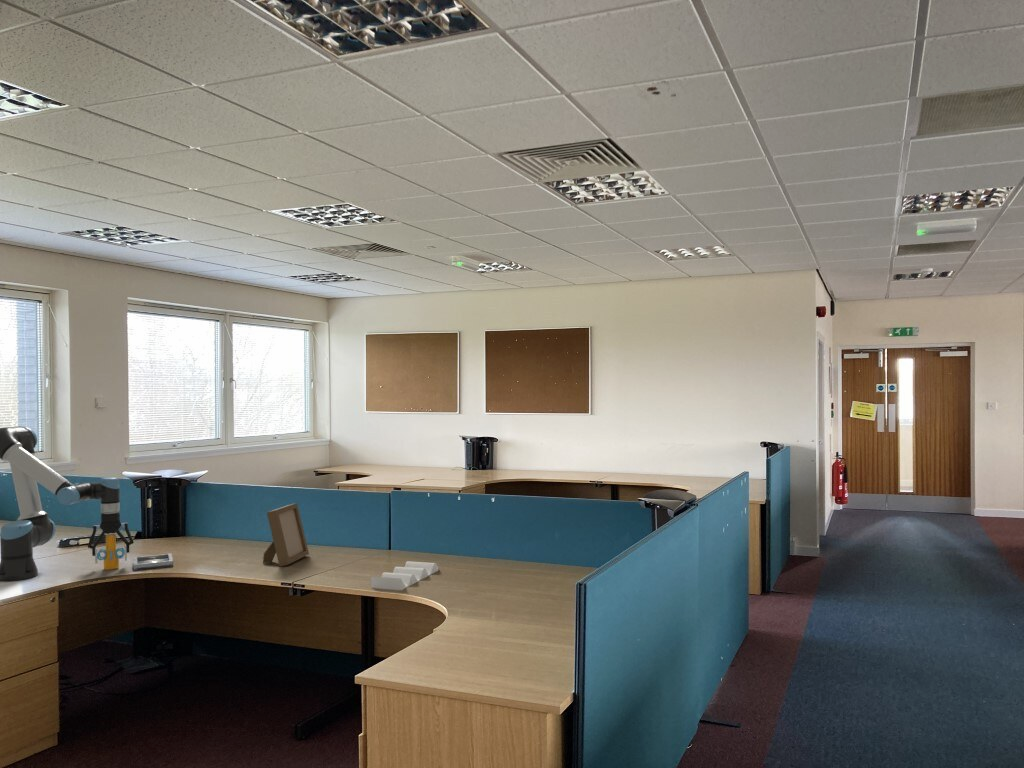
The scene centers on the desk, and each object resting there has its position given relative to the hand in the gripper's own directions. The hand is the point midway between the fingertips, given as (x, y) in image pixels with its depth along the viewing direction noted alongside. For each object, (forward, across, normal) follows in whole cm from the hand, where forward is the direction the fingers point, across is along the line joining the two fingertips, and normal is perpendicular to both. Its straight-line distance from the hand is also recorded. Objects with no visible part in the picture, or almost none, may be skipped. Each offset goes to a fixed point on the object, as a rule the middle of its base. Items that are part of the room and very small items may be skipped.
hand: (111, 561), depth 350 cm
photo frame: (+3, +71, -24) cm, 75 cm away
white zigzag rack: (+4, +110, -84) cm, 139 cm away
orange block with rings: (+3, 0, 0) cm, 3 cm away
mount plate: (+3, +17, -1) cm, 17 cm away
